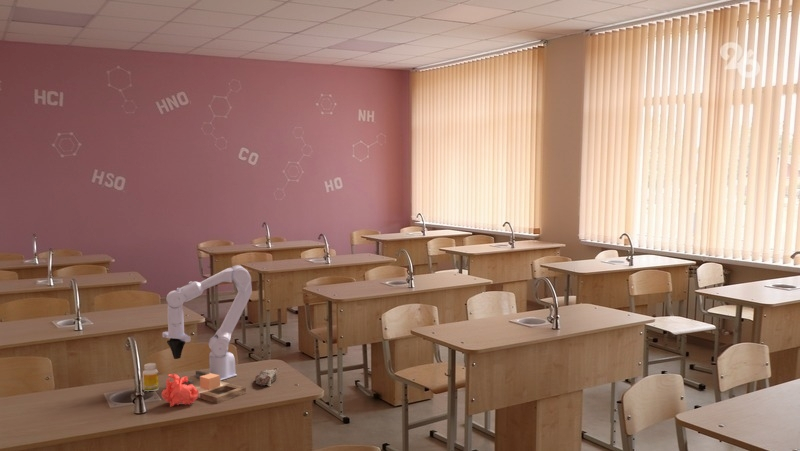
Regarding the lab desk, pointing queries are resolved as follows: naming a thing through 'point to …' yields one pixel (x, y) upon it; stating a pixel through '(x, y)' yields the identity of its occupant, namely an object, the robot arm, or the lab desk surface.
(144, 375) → the supplement bottle
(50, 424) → the lab desk surface
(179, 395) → the anatomical heart
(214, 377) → the terracotta block
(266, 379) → the mineral rock
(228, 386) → the tunnel deck
